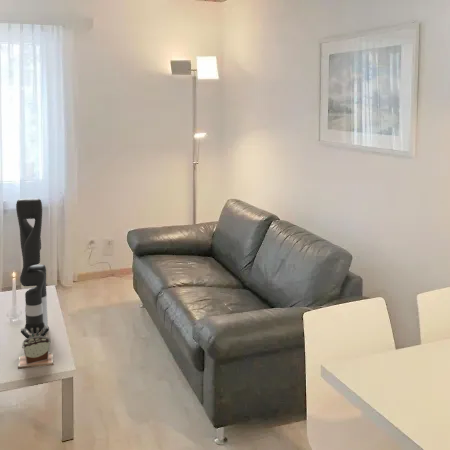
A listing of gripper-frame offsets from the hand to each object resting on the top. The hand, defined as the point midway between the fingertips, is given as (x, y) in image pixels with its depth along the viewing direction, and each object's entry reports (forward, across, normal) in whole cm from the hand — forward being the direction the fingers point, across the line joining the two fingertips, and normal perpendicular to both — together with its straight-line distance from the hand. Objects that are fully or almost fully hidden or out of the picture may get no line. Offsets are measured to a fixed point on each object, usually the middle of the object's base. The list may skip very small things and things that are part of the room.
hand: (35, 347), depth 267 cm
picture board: (+3, 0, -8) cm, 9 cm away
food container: (+2, 0, -8) cm, 8 cm away
